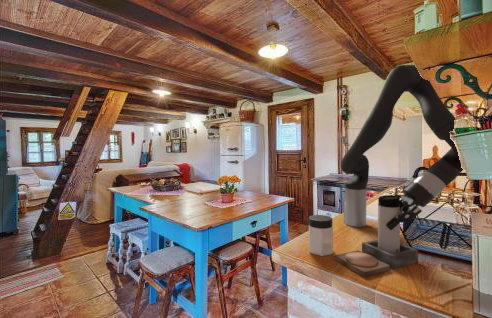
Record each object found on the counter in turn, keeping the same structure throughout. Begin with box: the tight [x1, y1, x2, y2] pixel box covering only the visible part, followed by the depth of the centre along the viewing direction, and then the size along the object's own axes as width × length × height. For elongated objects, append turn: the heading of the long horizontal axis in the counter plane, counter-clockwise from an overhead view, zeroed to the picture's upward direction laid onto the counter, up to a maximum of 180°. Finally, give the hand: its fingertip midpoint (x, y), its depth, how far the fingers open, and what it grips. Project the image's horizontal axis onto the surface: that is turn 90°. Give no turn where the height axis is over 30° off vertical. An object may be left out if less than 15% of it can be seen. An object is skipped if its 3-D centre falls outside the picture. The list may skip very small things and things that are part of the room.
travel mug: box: [377, 194, 402, 254], centre depth 82 cm, size 6×7×20 cm
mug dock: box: [334, 239, 419, 278], centre depth 80 cm, size 12×23×4 cm, turn 111°
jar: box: [307, 214, 334, 257], centre depth 88 cm, size 9×8×12 cm
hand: (383, 224), depth 82 cm, fingers closed on travel mug, 6 cm apart
